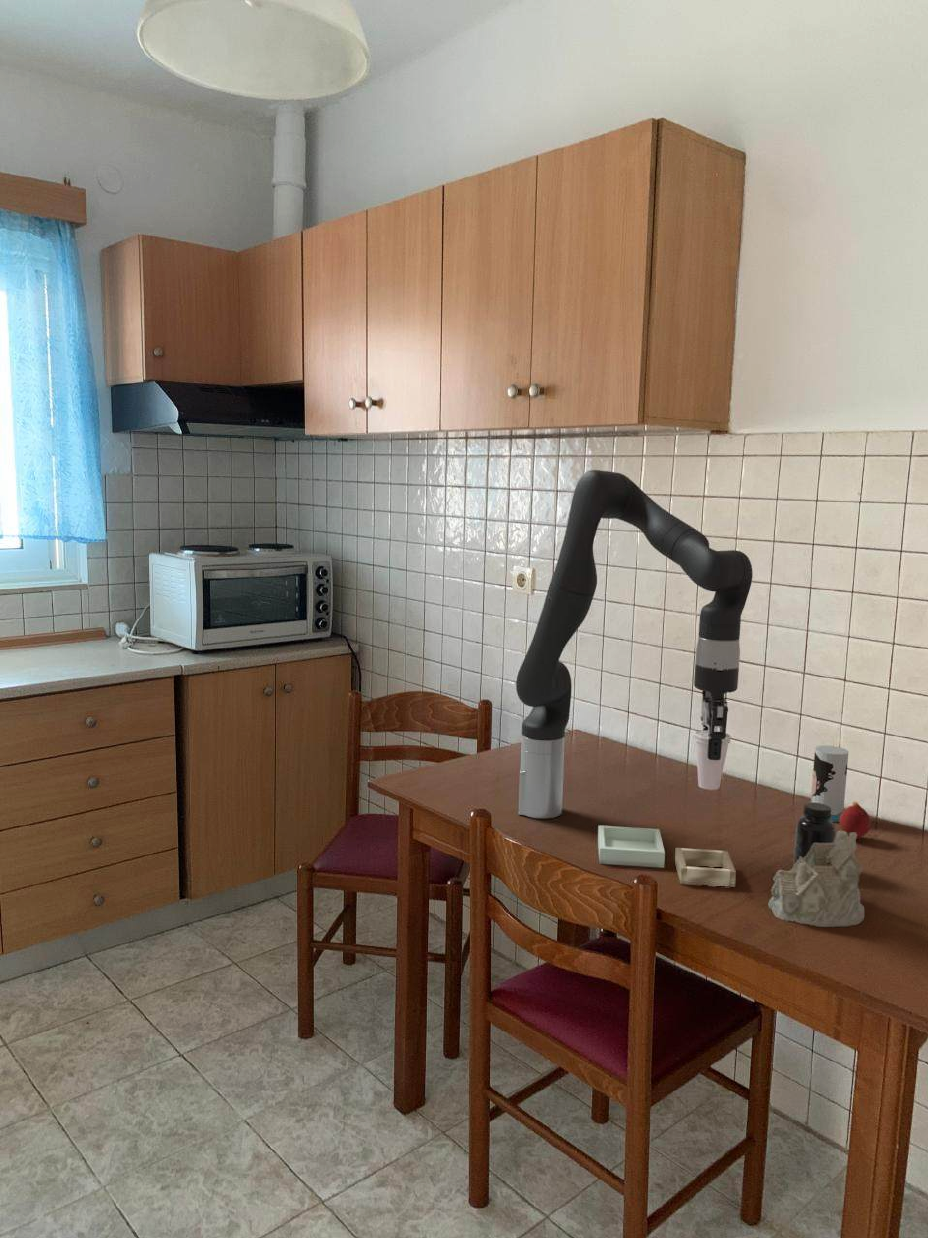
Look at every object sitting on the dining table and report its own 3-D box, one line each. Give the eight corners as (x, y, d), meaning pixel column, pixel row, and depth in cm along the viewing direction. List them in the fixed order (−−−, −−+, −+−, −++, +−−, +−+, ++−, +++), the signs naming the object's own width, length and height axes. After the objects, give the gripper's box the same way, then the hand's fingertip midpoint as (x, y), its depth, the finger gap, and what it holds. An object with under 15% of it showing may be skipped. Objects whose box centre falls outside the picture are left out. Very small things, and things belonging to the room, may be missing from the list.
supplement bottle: (827, 878, 170) (833, 815, 168) (789, 869, 174) (794, 808, 172) (835, 865, 176) (840, 804, 174) (797, 857, 180) (802, 797, 178)
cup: (835, 811, 206) (841, 745, 203) (847, 822, 199) (853, 754, 197) (805, 810, 206) (810, 745, 203) (816, 821, 199) (821, 754, 197)
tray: (599, 863, 174) (600, 848, 174) (597, 839, 186) (598, 825, 186) (664, 868, 173) (665, 852, 173) (658, 843, 185) (659, 829, 184)
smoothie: (728, 793, 164) (733, 717, 162) (691, 790, 165) (696, 714, 163) (725, 782, 170) (731, 708, 168) (690, 779, 172) (694, 705, 170)
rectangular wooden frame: (680, 884, 166) (681, 868, 166) (674, 862, 176) (675, 847, 175) (734, 887, 165) (735, 871, 165) (726, 866, 174) (727, 851, 174)
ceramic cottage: (851, 888, 166) (853, 809, 163) (873, 935, 150) (876, 848, 147) (760, 885, 169) (761, 807, 166) (773, 930, 153) (773, 845, 150)
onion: (867, 836, 191) (871, 799, 190) (870, 846, 186) (873, 808, 184) (837, 832, 193) (840, 795, 192) (838, 842, 187) (842, 804, 186)
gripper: (690, 654, 172) (685, 741, 174) (701, 670, 158) (694, 764, 160) (732, 656, 171) (725, 743, 174) (746, 672, 157) (739, 767, 160)
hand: (711, 753), depth 167 cm, fingers closed on smoothie, 6 cm apart
